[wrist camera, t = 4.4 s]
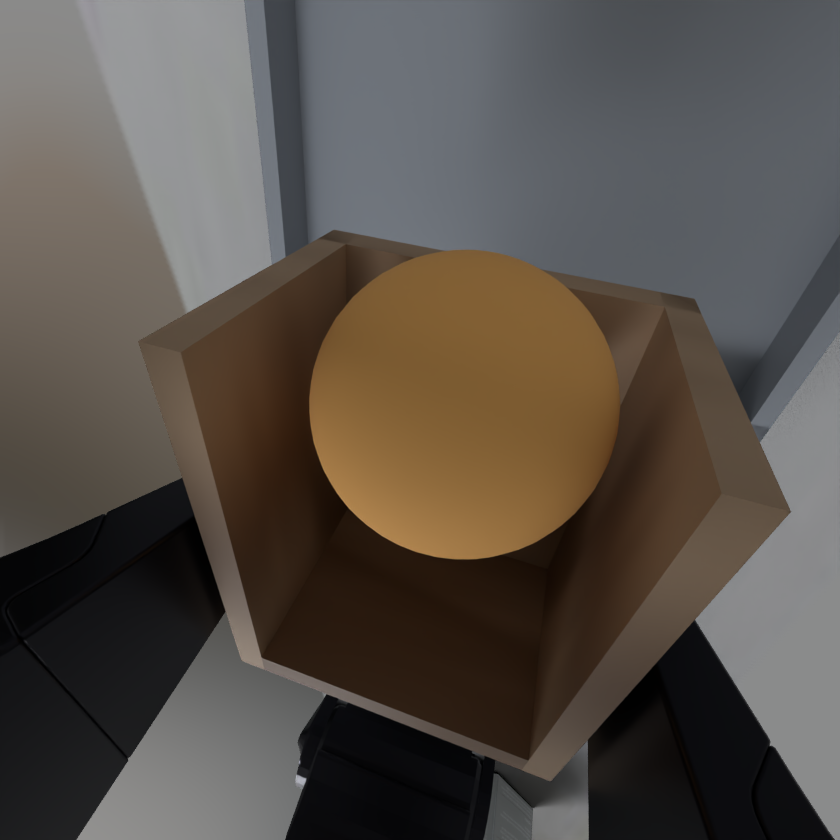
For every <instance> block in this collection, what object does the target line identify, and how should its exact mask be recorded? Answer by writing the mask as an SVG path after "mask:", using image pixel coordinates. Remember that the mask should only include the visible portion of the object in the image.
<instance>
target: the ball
mask: <svg viewBox="0 0 840 840" xmlns="http://www.w3.org/2000/svg"><path fill="white" fill-rule="evenodd" d="M309 413H310V424H311V431H312V436H313V441H314V445H315V448H316V451H317V454H318V457H319V460H320V462H321V465H322V468H323V470H324V472H325V474H326V475H327V477H328V479H329V481H330V483H331V484H332V486H333V488H334V489H335V491H336V492H337V494H338V495H339V497H340V498H341V499H342V500H343V502H344V503H345V504H346V506H347V507H348V508H349V509H350V510H351V511H352V512H353V513H354V514H355V515H356V516H357V517H358V518H359V519H360V520H361V521H363V522H364V523H365V524H366V525H367V526H369V527H370V528H372V529H373V530H374V531H376V532H377V533H378V534H380V535H381V536H383V537H385V538H386V539H388V540H390V541H392V542H394V543H396V544H397V545H399V546H402V547H405V548H407V549H410V550H412V551H415V552H418V553H422V554H426V555H430V556H434V557H440V558H448V559H480V558H488V557H494V556H498V555H502V554H505V553H509V552H512V551H516V550H519V549H521V548H524V547H526V546H528V545H531V544H533V543H535V542H537V541H539V540H540V539H542V538H544V537H545V536H547V535H548V534H550V533H552V532H553V531H554V530H556V529H557V528H559V527H560V526H561V525H563V524H564V523H565V522H566V521H567V520H568V519H569V518H571V517H572V516H573V515H574V514H575V513H576V512H577V510H578V509H579V508H580V507H581V506H582V505H583V503H584V502H585V501H586V500H587V499H588V497H589V496H590V495H591V494H592V492H593V491H594V489H595V488H596V486H597V484H598V482H599V480H600V479H601V477H602V475H603V473H604V471H605V469H606V467H607V465H608V463H609V460H610V457H611V454H612V451H613V448H614V444H615V441H616V437H617V432H618V425H619V415H620V392H619V383H618V376H617V371H616V367H615V363H614V360H613V357H612V354H611V351H610V348H609V346H608V343H607V341H606V339H605V336H604V334H603V333H602V331H601V329H600V328H599V326H598V325H597V323H596V321H595V320H594V318H593V316H592V315H591V313H590V312H589V310H588V309H587V308H586V307H585V306H584V304H583V303H582V302H581V301H580V300H579V299H578V298H577V297H576V296H575V295H574V294H573V293H572V292H571V291H570V290H569V289H568V288H567V287H566V286H565V285H563V284H562V283H561V282H559V281H558V280H557V279H555V278H554V277H552V276H551V275H549V274H547V273H546V272H544V271H542V270H541V269H539V268H537V267H535V266H533V265H531V264H529V263H527V262H525V261H522V260H520V259H517V258H514V257H511V256H508V255H504V254H500V253H495V252H489V251H481V250H450V251H442V252H437V253H432V254H427V255H423V256H420V257H416V258H413V259H411V260H408V261H406V262H403V263H401V264H399V265H397V266H395V267H393V268H391V269H390V270H388V271H386V272H384V273H382V274H381V275H379V276H378V277H376V278H375V279H373V280H372V281H371V282H370V283H368V284H367V285H366V286H365V287H364V288H362V289H361V290H360V291H359V292H358V293H357V294H356V295H355V296H353V298H352V299H351V300H350V301H349V302H348V304H347V305H346V306H345V307H344V309H343V310H342V311H341V312H340V313H339V315H338V316H337V317H336V319H335V320H334V322H333V324H332V326H331V327H330V329H329V331H328V333H327V335H326V336H325V338H324V340H323V342H322V345H321V347H320V350H319V353H318V356H317V359H316V362H315V365H314V369H313V374H312V380H311V387H310V396H309Z"/></svg>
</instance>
